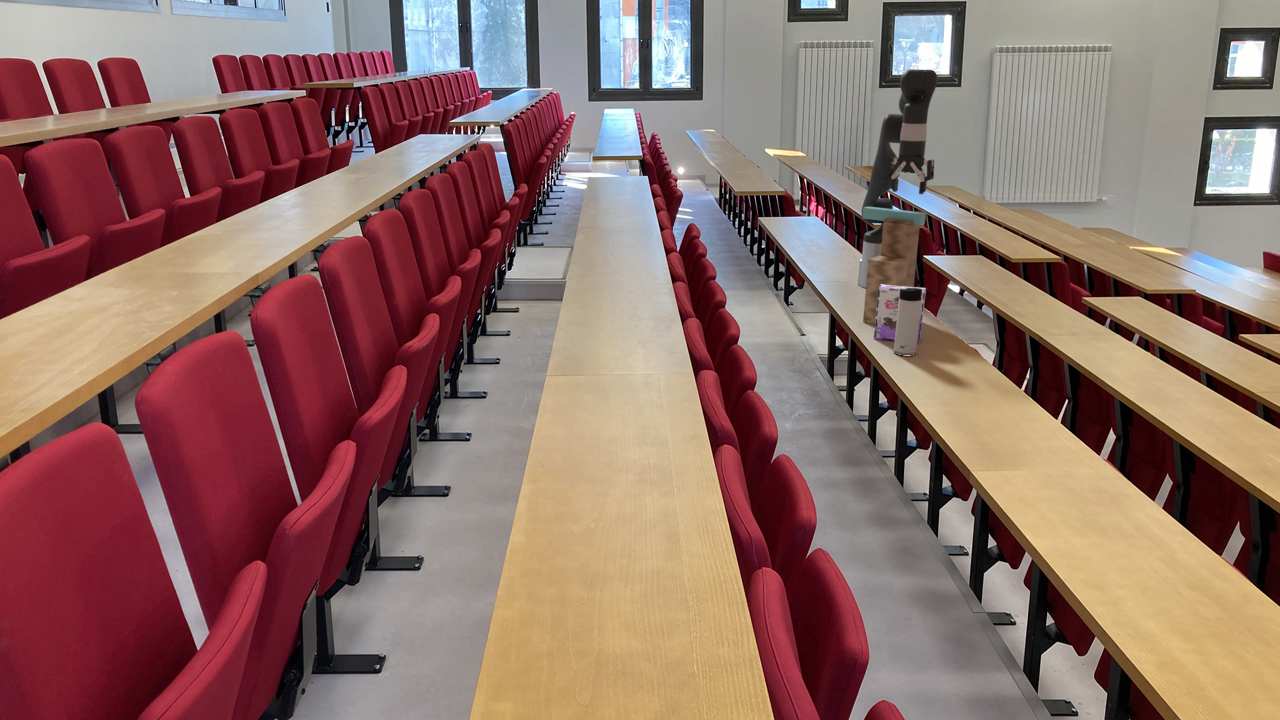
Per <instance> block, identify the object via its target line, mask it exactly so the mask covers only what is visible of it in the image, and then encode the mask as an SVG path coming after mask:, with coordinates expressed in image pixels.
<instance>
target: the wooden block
mask: <svg viewBox="0 0 1280 720" xmlns="http://www.w3.org/2000/svg"><path fill="white" fill-rule="evenodd" d="M907 267H908V259H901V258H894V257H887V256H880V255H879V256H876V257H873V258H871V259H868V270H867V281H866V288H865V295H864V308H863V317H862V322H863V323H865V322H867V323H866V324H870V323H871V325H875V319H876V309H877V301H878V291H879V287H880V284H884V285H894V286H906V277H907Z"/></svg>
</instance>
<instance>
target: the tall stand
mask: <svg viewBox="0 0 1280 720" xmlns="http://www.w3.org/2000/svg"><path fill="white" fill-rule="evenodd" d="M912 222H913V221H905V220H896V219H887V218H886V219H884V222H883V234H882V245H881V256H887V257H894V258H901V259H908V267H907V277H906V287H915V285H914V284H915V278H916V265H917V257H918V245H919V239H920V238H919V235H920V228H921V227H920V226H921V225H914V224H912Z"/></svg>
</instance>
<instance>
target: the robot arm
mask: <svg viewBox="0 0 1280 720" xmlns="http://www.w3.org/2000/svg"><path fill="white" fill-rule="evenodd" d="M899 81H900V82H899V83H900V84H899V85H900V91H901V94H900V96H899V100H898V108H899V111H900V114H897V113H888V114H886V115H885V116H884V118H883V120H882V122H881V123H882V124H881V127H880V133H879V140H878V145H877V152H876V155H875V158H874V162H873V166H872V169H871V174H870V179H869V184H868V188H867V191H866V194H865V196H864V200H863V203H862V206H861V213H860V215H861V219H862V221H863V222H864V223H867V224H880V225H879V226H878V227H877V228H874V229H873V230H869V231H866V232H865V233H864V234H863V242H862V244H863V245H862V254H861V255H862V256H861V259H860V260H859V263H858V264H859V265H858V277H857V285H858V286H859V287H862V288H865V289H866V281H867V270H868V259H871V258H873V257H876V256H879V255H880V256H881V245H882V234H883V222H884V221H880V220H872V219H864V218H862V217H863V208H864V207H877V208H886V209H894V204H893V200H892V199H891V198H886V197H884V198H881V196H883V195H884V194H886V193H887V192H889V190H892V192H893V193H895V192H898V190H899V189H898V188H899V177H900V176H901V175H902V174H904V173H905V174H906V173H910V174H915V175H916V176H917V177H918V178H919V180H920V181H919V186H918V187H919V188H918V189H919V190H918V194H919V195H924V193H926V191H927V184H928V183H927V182H928V181H931V180H933V179H934V177H935V175H934V174H935V159H933V158H932V159H925V153H926V152H925V151H926V143H927V130H928V127H927V124H928V114H929V109H930V105H931V100H932V98H933V96H934V93H935V91H936V87H937V84H938V74H937V73H936V71H935V70H933V69H908V70H905V71H904V72H903V73H902V74H901V75H900V80H899ZM891 143H892V144H899V148H898V149H899V150H898V156H897V155H896V153H895V152H894V150H893V148H892V147H891ZM924 165H925V167H926V172H925V170H924V168H923V167H924Z"/></svg>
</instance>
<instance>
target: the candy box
mask: <svg viewBox="0 0 1280 720" xmlns="http://www.w3.org/2000/svg"><path fill="white" fill-rule="evenodd" d="M907 288H919V289H922V296H921V308H920V318H919V327H918V337H917V344H918V343H919V344H920V343H921V340H922V338H921V337H922V328H923V319H924V309H925V301H926V294H927V288H926V287H915V286H914V287H906V286H894V285H884V284H880V287H879V291H878V301H877V309H876V319H875V324H874V333H873V339H874V340H881V341H882V340H883V341H892V342H895V334H896V323H897V313H898V303H899V295H900V289H907ZM920 339H921V340H920Z"/></svg>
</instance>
